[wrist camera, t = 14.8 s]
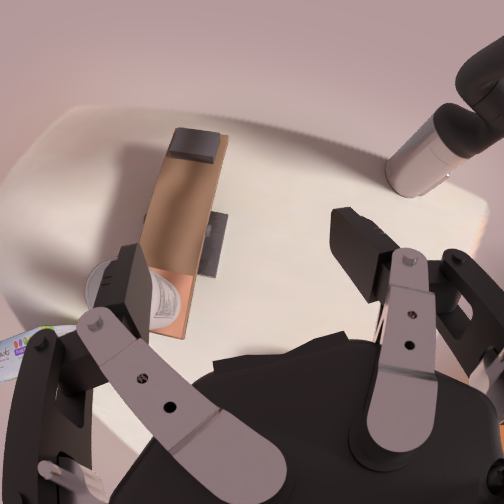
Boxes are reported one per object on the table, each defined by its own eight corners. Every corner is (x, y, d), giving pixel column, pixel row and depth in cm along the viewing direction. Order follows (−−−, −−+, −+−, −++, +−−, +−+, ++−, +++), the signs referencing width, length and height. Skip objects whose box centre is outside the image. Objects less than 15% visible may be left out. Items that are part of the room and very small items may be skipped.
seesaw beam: (231, 145, 42) (232, 128, 38) (189, 339, 36) (184, 341, 31) (174, 136, 42) (170, 119, 38) (124, 323, 35) (112, 323, 31)
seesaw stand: (228, 216, 47) (228, 201, 41) (215, 278, 44) (213, 272, 38) (156, 203, 46) (147, 188, 40) (141, 262, 44) (129, 254, 38)
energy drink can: (130, 284, 34) (73, 260, 19) (176, 274, 35) (144, 243, 20) (139, 332, 33) (85, 339, 18) (186, 323, 34) (159, 326, 19)
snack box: (19, 379, 37) (-33, 390, 22) (10, 350, 38) (-43, 354, 23) (103, 354, 40) (55, 367, 26) (92, 321, 41) (41, 320, 26)
